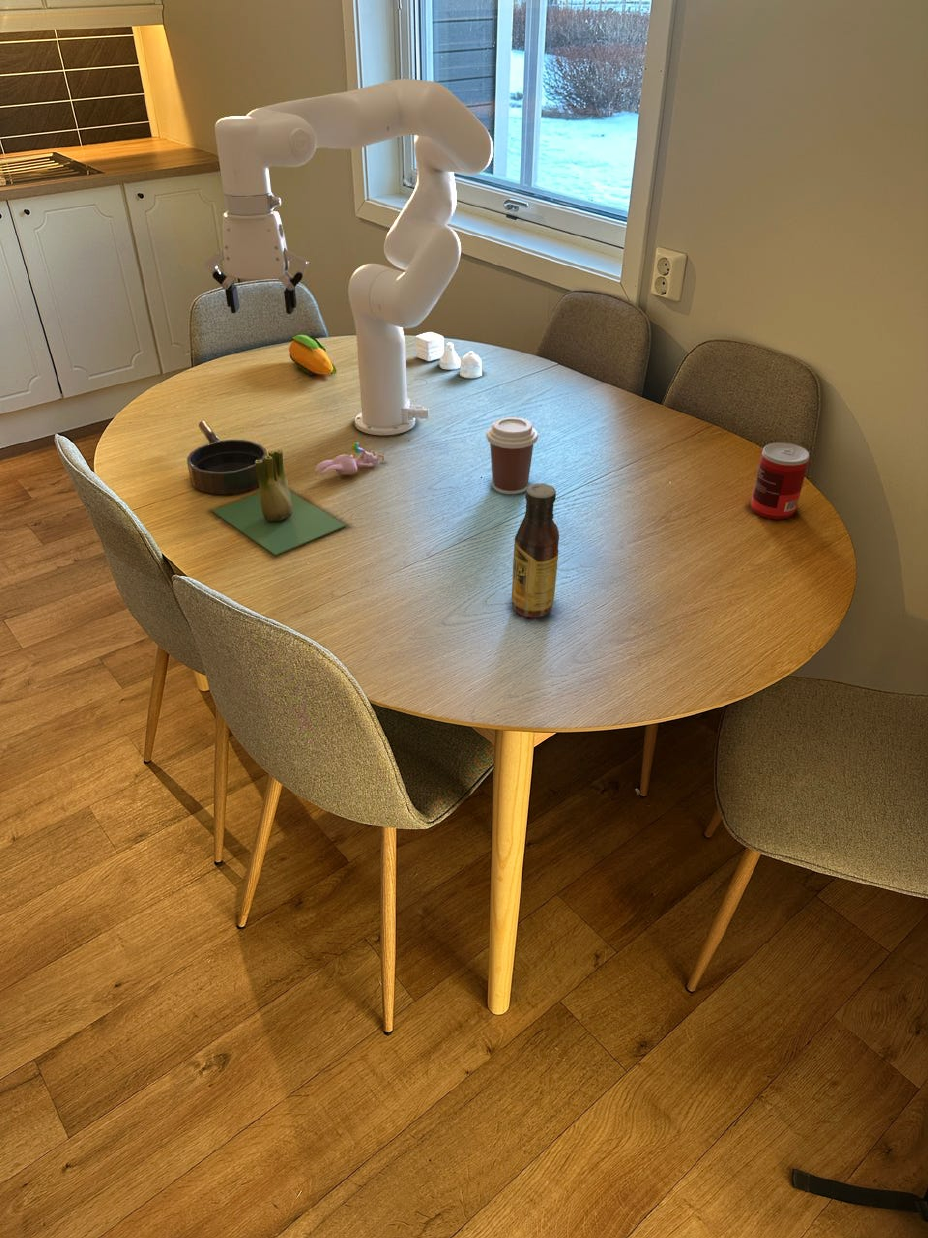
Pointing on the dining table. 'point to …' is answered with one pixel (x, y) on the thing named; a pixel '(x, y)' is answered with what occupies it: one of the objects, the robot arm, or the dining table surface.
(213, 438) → the pan handle
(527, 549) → the sauce bottle
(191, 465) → the pan
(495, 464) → the coffee cup
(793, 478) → the canned food
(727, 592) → the dining table surface
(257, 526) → the cloth
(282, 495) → the fennel bulb
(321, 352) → the corn
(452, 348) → the container set
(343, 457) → the rabbit figure
